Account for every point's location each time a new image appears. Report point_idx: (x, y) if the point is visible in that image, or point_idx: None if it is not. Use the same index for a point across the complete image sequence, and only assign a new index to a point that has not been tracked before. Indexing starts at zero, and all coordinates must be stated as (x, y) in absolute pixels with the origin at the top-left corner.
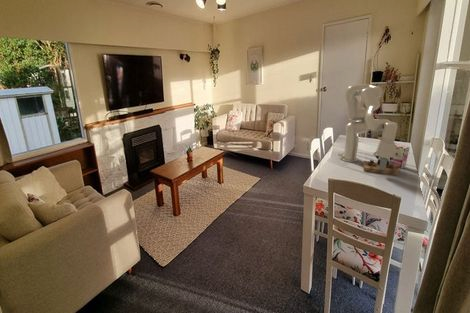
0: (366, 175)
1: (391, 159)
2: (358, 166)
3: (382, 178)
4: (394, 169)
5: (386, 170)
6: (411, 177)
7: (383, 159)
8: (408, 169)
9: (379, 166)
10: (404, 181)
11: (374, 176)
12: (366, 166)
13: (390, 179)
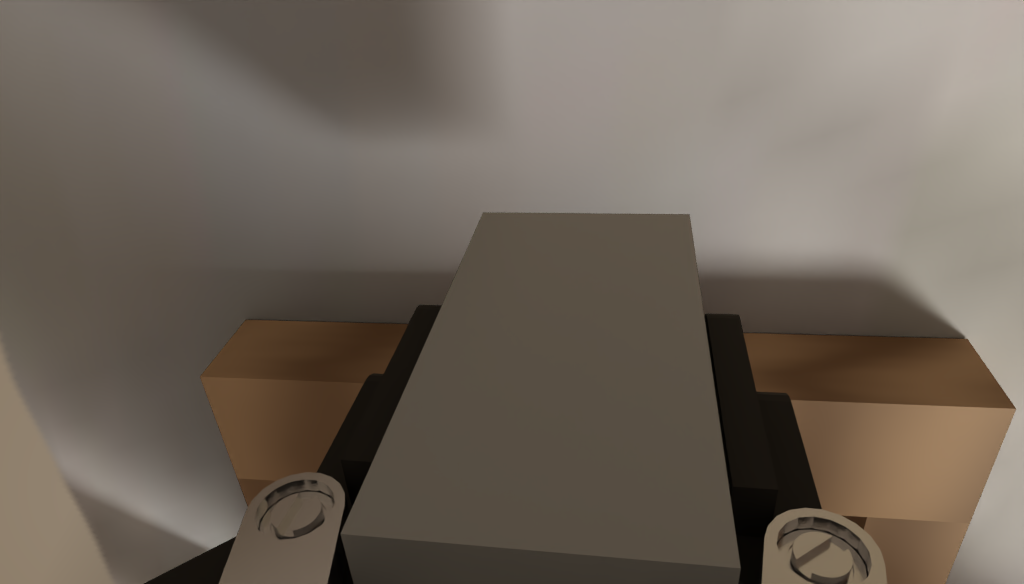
0: (974, 81)
1: (167, 579)
2: (1005, 542)
3: (555, 23)
4: (302, 456)
5: None
6: (32, 297)
7: (571, 527)
8: (157, 575)
9: (689, 268)
10: (76, 31)
11: (751, 89)
12: (922, 477)
13: (367, 32)
